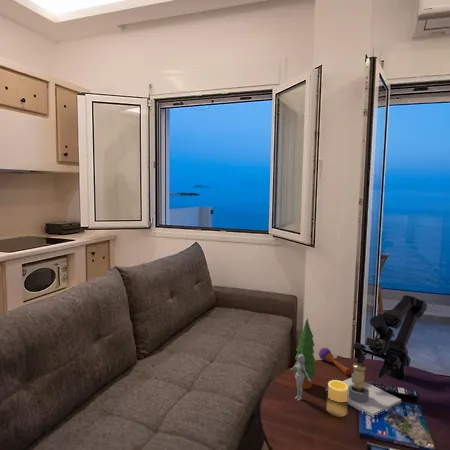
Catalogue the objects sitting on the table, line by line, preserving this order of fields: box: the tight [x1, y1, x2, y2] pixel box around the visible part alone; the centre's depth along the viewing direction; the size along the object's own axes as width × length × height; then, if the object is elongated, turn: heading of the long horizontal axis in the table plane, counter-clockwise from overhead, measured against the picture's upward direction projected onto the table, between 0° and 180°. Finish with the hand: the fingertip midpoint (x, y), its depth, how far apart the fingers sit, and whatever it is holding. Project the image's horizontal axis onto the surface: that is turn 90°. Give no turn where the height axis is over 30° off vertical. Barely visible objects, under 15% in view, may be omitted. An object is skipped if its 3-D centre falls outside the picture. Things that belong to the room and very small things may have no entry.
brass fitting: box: [352, 362, 367, 393], centre depth 145 cm, size 5×5×13 cm
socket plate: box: [325, 372, 402, 416], centre depth 148 cm, size 18×22×5 cm
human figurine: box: [290, 354, 312, 401], centre depth 147 cm, size 12×4×18 cm, turn 28°
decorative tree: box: [292, 317, 317, 390], centre depth 157 cm, size 10×9×30 cm
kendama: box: [318, 347, 352, 376], centre depth 176 cm, size 6×6×20 cm
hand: (368, 373), depth 149 cm, fingers open, 9 cm apart
